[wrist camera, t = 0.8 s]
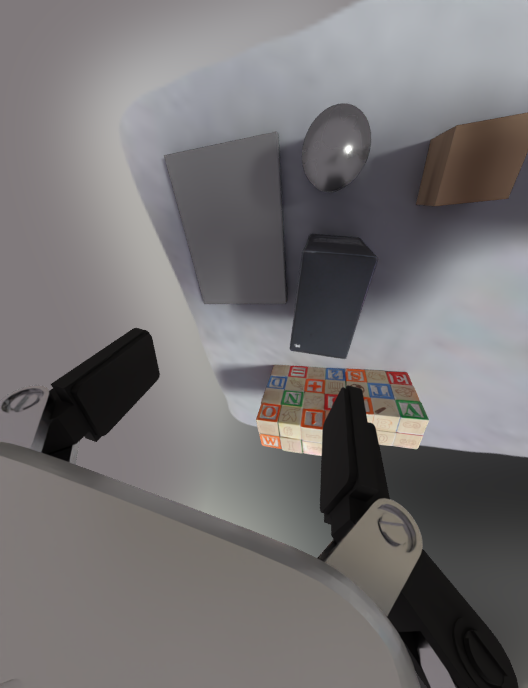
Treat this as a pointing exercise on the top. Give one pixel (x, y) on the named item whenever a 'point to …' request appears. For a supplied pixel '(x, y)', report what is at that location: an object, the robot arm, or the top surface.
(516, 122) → the walnut block
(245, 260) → the slate board
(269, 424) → the stack of blocks
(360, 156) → the metallic grey egg
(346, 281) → the small box
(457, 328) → the top surface
